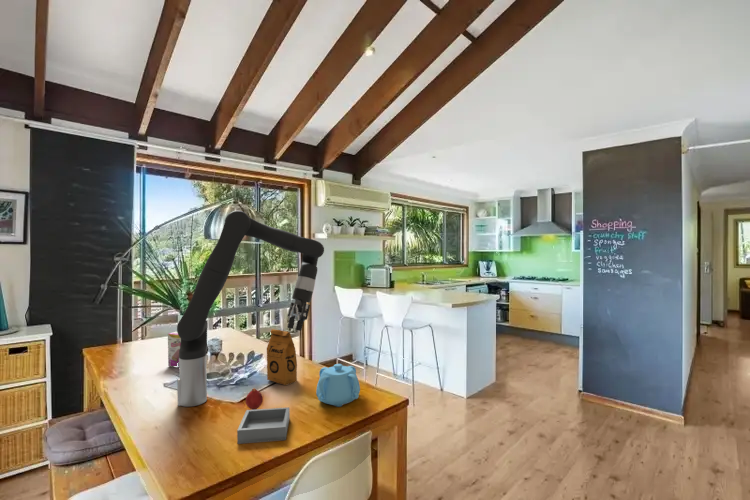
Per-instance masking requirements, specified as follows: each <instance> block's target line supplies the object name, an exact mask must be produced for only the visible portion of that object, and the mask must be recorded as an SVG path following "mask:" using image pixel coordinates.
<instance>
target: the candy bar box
mask: <svg viewBox="0 0 750 500" xmlns="http://www.w3.org/2000/svg"><path fill="white" fill-rule="evenodd" d="M180 344H181V338H180V337H179V335H178V333H177V331H172V332H168V333H167V349H168V350H167V354H168V356H167V357H168V358H167V359H168V366H177V363H178V362H179V350H180Z"/></svg>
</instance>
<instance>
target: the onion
mask: <svg viewBox="0 0 750 500" xmlns="http://www.w3.org/2000/svg"><path fill="white" fill-rule="evenodd" d="M263 401H264V400H263V395H262V393H261V391H259V390H257V389H256V388H254V387H253V388H252V389H251V391H249V392H248V394H247V395H246V398H245V405H246V406H247V407H248V408H249V410H256V409H260V407H261V405H262V404H263Z"/></svg>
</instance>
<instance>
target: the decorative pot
mask: <svg viewBox="0 0 750 500" xmlns="http://www.w3.org/2000/svg"><path fill="white" fill-rule="evenodd" d="M318 379H319V380H318V382H317V385H316V397H317V400H318V401H319V402H322V403H324V404H327V405H331V406H334V407H337V408H340V407H343V405H346V404H349V403H351V402H354V400H357V399H358V398H359V394H360V391H361V385H360V381H359V378H358V376H357V369H356V367H355V366H353V365H348V366H346V365H343V364H342V363H336V364H333V366H330V367H327V366H324V367H322V368H320V370H319V378H318Z"/></svg>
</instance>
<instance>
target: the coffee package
mask: <svg viewBox="0 0 750 500" xmlns="http://www.w3.org/2000/svg"><path fill="white" fill-rule="evenodd" d="M270 333H271V335H270V338H269V341H268V344H267V347H266V375H267V377H266V378H267V379H266V380H267V381H271V382H274V383H276V384H279V385H280V384H281V385H283V386H288V385H291V384H294V383H296V382H297V381H298V378H297V377H298V373H297V372H298V371H297V370H298V364H297V363H298V360H297V353H296V347H295V344H294V343H295V342H294V341H293V337H292V336H291V335H292V334H291V332H290V331H284V330H279V329H274V328H273V329H271V330H270Z"/></svg>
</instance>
